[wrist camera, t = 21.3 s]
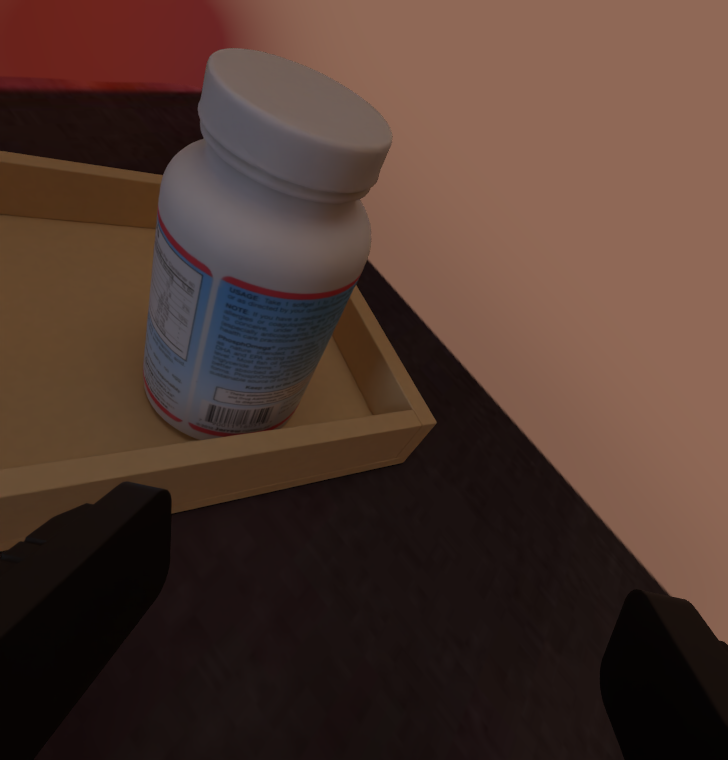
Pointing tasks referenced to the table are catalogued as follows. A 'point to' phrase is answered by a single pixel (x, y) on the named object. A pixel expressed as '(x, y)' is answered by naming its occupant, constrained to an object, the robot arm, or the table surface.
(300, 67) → the pill bottle
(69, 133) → the table surface
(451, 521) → the table surface
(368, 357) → the tray
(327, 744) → the table surface
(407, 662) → the table surface
